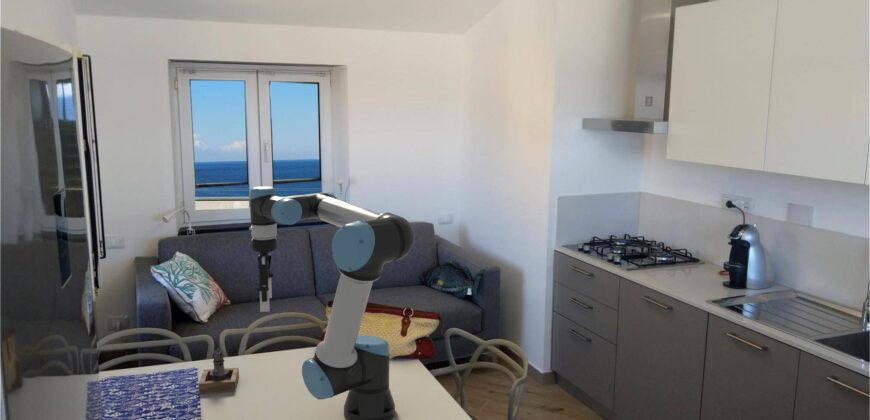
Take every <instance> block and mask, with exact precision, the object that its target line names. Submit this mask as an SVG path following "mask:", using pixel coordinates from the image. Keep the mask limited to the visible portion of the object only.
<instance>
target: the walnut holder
mask: <svg viewBox="0 0 870 420" xmlns="http://www.w3.org/2000/svg"><path fill="white" fill-rule="evenodd" d="M224 369H227V370H228V371H229V372H228V375H227V378H226V380H220V381H214V380H213V379H212V378H211V375H210V372H211V371H213V370H214V368H212V369H211V368H210V369H203V370H202V371H203V372H202V374H201V377H200V380H199V382H198V395H200V394H217V393H227V392H228V393H231V392H232V393H233V392H236V390H237V386H238V382H239V378H240V371H239V369H240V368H239V367H227V368H226V367H224Z"/></svg>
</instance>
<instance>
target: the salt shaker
mask: <svg viewBox="0 0 870 420" xmlns="http://www.w3.org/2000/svg"><path fill="white" fill-rule="evenodd" d="M225 361H226V360H225V359H224V352H223V350H221V349H220V348H219V347H216V349H215V350H214V351H213V361H212V363H213V369H214V370H213V371H211V372H210V375H211V378H212V379H213V380H214V381H220V380H226V378H227V375H228V372H229V371H228V370H227V369H224V368H225V364H224V363H225Z"/></svg>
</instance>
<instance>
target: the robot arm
mask: <svg viewBox="0 0 870 420" xmlns="http://www.w3.org/2000/svg"><path fill="white" fill-rule="evenodd" d="M249 209H250V210H249V211H250V213H249V214H250V225H251V226H249V227H248V230H249V231H251V233H250V234H251V237H252V238H251V250H252V251H253V252H257V253H260V254H259V255H257V262H258V265H257V266H258V272H259V273H258V274H259V277H258V278H259V279H258V280H259V281H258V282H259V283H258V284H259V285H258V287H259V288H256V291H257V292H259V305H260V306H259V312H261V313H263V312H264V313H265V312H270V309H271V308H270V306H271V305H270V299H272V298H273V293H272V292H273V291H272V290H273V289H272V288H273V287H272V278H274V273H272V260H273V259H272V258H273V257H272V256H273V255H272V254H271V252H274V251H276V250H277V249H278V239H277V237H276V236H278V232H277V231H278V227H277V226H278V225H277V223H279V224H281V225H288V226H291V225H295V224H296V223H297V222H299V221H304V220H312V219H317V220H320V221H322V222H325V223H328V224H331V225H334V226H336V227H339V229H338V230H337V231H336V232H335V234H334V236H333V238H332V243H331V252H333V254H332V259H333V262H334V263H335V265H336V268H337V270H338V272H339V273H340V276H339V279H338V283H337V287H336V291H335V295H334V299H333V303H332V306H331V309H330V310H331V311H330V314H329V318H328V322H327V326H326V330H325V334H324V338H323V340H322V341H320V342H319V343H318V344H317V346H316V347H315V350H314V355H313V357H312V358H310V357H309V358H308V359H306V360H305V361H304V362H303V363H302V366H301V375H302V379H303V380H302V381H303V383H304V385H305V387H306V389H307V391H308V392H309V393H310V395H311V396H312V397H314V398H315V399H317V400H321V401H323V400H327V399H331V398H333V397H336V396H338V395H341V394H343V393H346V392H348V393H347V396H346V399H345V402H344V405H343V417H344V418H345V419H346V420H391V419H393V418H394V416H395V413H396V404H395V401H394V397H393V395H392V392H391V388H390V355H391V353H390V345H389V343H388V341H387V340H386V339H384V338H382V337H379V336H377V335H376V336H375V335H368V334H361V335H360V334H359V333H360V329H361V326H362V322H363V318H364V317H365V316H364V314H365V312H366V308H367V305H368V301H369V298H370V294H371V290H372V287H373V283H374V282H375V281H378V280H379V279H380V278H381V276H382V273H383V269H384V266H385V264H388V263H392V262H397V261H399V260H402V259H404V258H405V257H407V256H408V255H409V253H411V251H412V249H413V247H414V245H415V241H416V236H415V235H416V234H415V231H414V230H415V229H414V227H413V226H412V224H411V223H410V222H409V221H408V220H407V219H406V218H405V217H403V216H401V215H398V214H396V213H395V214H394V213H392V212H383V213H379V212H376V211H373V210H371V209H367V208H364V207H361V206H359V205H356V204H352V203H349V202H346V201H344V200H340V199H338V198H337V196H335V194H334V193H333V192H330V191H328V192H325V191H321V192H315V193H308V194H300V195H299V194H298V195H297V194H296V195H290V196H289V195H288V196H277V194H276V189H275V188H274V187H273V186H269V185H268V186H266V185H265V186H262V185H261V186H254V187H252V188H251V189H250V191H249Z"/></svg>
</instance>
